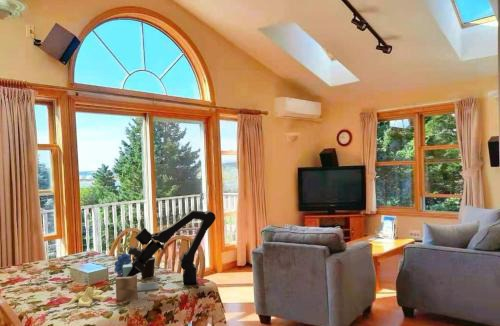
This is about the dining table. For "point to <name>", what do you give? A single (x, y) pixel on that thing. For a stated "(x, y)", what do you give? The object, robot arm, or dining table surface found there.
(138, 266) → the robot arm
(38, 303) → the dining table surface
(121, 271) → the grapes
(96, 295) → the cloth
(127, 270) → the letter block
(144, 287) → the slate coaster
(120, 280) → the walnut screen
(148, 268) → the coffee mug
